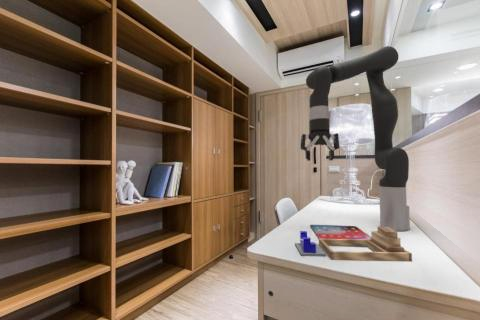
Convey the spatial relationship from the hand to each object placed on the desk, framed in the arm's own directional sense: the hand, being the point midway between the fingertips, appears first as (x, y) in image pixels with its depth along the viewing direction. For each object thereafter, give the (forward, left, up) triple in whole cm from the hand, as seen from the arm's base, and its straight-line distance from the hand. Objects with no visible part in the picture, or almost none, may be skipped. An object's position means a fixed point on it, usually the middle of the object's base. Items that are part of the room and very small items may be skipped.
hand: (319, 160), depth 87 cm
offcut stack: (-13, +19, -28) cm, 36 cm away
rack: (-6, +19, -28) cm, 34 cm away
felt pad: (+9, +18, -28) cm, 35 cm away
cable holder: (+9, +18, -28) cm, 34 cm away
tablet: (-7, +2, -29) cm, 30 cm away
